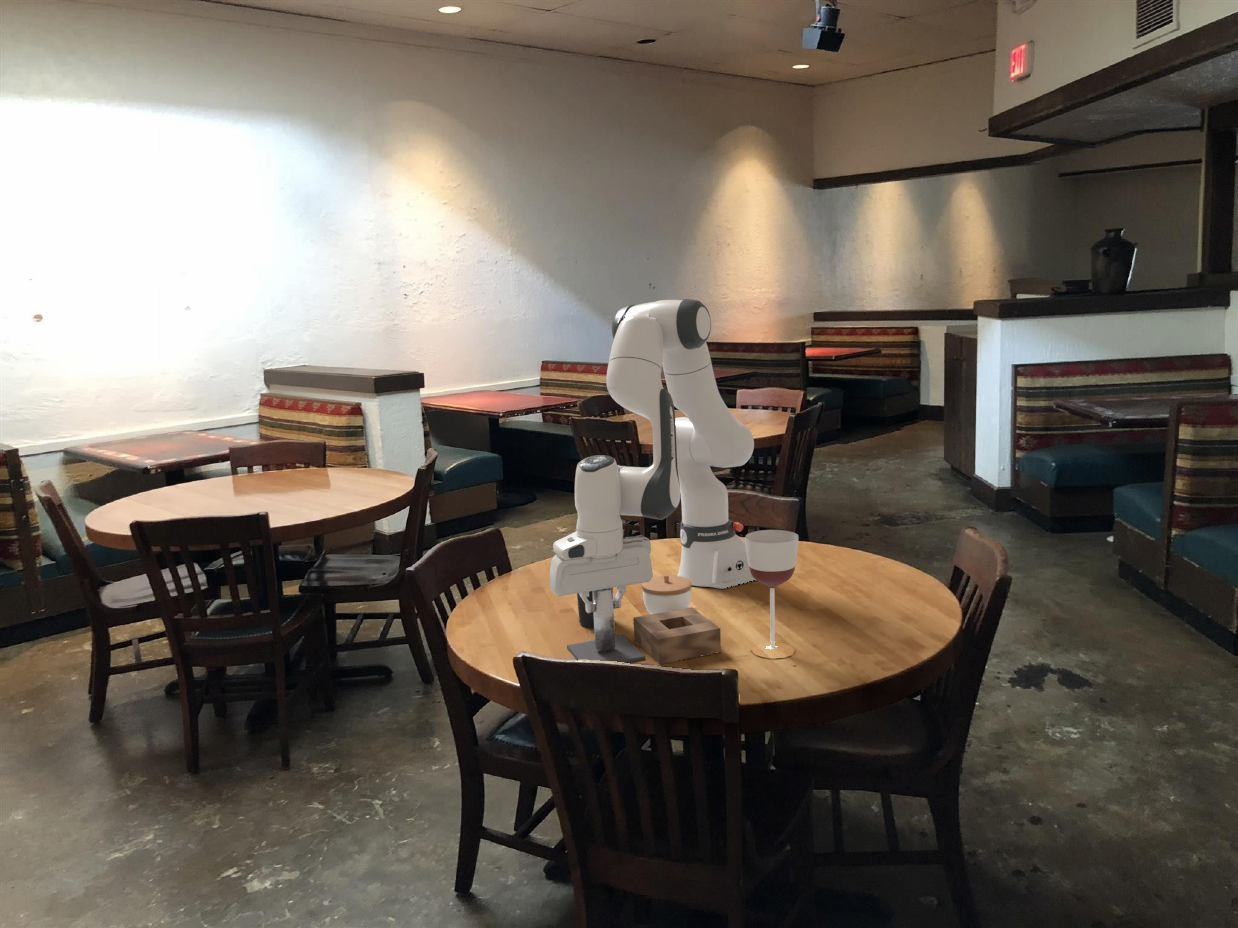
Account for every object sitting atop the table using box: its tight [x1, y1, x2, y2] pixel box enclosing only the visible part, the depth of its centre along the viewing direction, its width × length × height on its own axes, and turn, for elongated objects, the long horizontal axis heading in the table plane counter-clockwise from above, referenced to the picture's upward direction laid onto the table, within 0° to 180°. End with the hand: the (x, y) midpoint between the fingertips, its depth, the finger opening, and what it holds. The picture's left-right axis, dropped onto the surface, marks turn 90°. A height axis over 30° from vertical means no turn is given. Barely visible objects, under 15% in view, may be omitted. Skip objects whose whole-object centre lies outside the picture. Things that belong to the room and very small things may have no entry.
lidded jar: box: [641, 574, 693, 615], centre depth 201 cm, size 11×11×9 cm
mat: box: [566, 634, 646, 663], centre depth 184 cm, size 12×12×1 cm
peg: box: [592, 588, 616, 651], centre depth 182 cm, size 4×4×12 cm
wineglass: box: [744, 529, 799, 650], centre depth 179 cm, size 9×10×23 cm
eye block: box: [632, 607, 722, 665], centre depth 185 cm, size 13×13×5 cm
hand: (603, 609), depth 182 cm, fingers closed on peg, 4 cm apart
